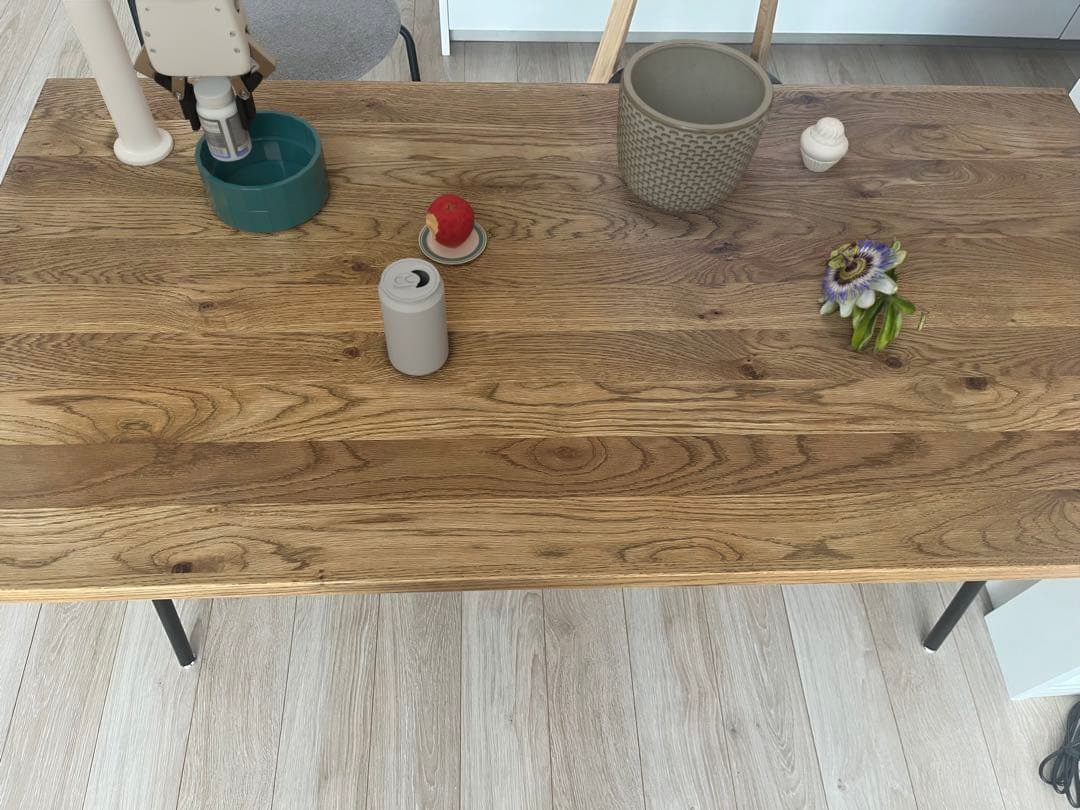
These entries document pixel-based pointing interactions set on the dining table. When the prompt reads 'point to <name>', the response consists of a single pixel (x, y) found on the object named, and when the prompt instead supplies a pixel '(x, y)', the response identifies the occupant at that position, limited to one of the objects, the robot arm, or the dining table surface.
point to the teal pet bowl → (268, 175)
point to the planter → (689, 122)
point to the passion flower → (867, 290)
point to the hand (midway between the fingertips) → (223, 121)
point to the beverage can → (414, 316)
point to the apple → (451, 231)
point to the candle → (118, 83)
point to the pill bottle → (221, 119)
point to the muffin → (823, 144)
